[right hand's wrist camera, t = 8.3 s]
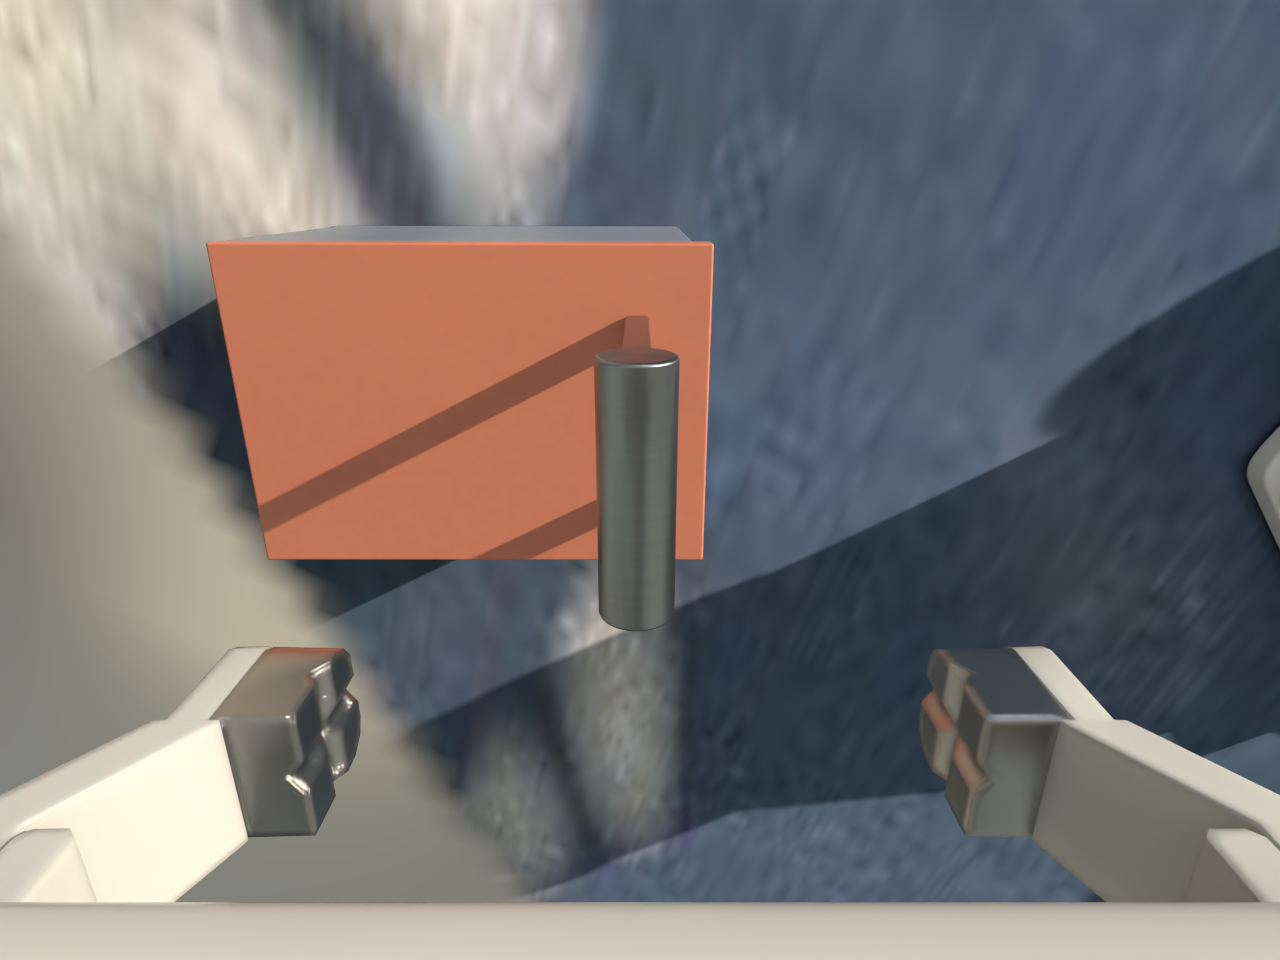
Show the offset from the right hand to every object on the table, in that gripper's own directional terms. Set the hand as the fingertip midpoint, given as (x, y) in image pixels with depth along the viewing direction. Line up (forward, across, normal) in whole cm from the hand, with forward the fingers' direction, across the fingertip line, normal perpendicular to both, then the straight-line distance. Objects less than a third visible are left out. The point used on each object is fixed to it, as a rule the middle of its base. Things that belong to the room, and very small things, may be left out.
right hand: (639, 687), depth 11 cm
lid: (+15, +5, 0) cm, 16 cm away
